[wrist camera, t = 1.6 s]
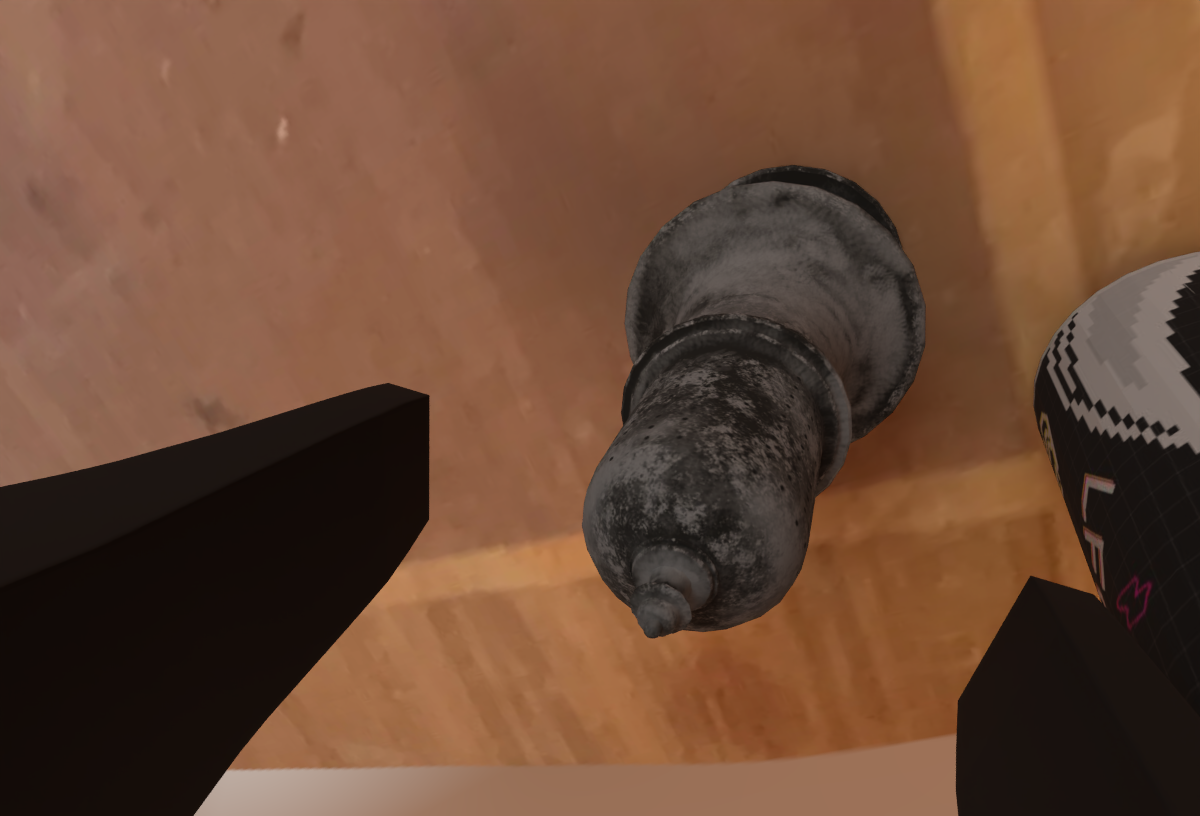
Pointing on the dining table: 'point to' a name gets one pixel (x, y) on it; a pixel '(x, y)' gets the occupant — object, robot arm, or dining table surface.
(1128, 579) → the beverage can
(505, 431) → the dining table surface
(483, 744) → the dining table surface
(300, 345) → the dining table surface
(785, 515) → the chess piece
